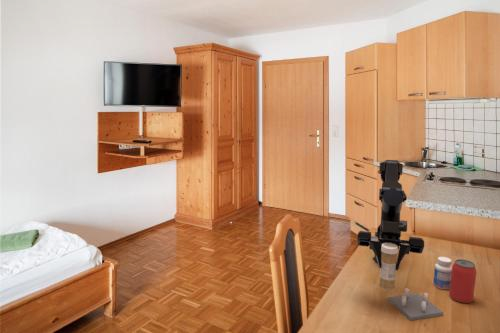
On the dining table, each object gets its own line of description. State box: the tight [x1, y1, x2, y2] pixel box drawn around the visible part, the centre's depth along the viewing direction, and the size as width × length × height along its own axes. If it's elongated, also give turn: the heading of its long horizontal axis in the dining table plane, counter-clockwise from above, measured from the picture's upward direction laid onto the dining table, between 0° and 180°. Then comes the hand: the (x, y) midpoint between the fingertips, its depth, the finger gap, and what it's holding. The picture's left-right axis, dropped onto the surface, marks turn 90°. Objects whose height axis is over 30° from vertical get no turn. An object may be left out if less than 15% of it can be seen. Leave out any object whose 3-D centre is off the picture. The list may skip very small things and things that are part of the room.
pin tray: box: [387, 287, 444, 321], centre depth 109 cm, size 11×11×4 cm
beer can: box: [448, 258, 477, 304], centre depth 113 cm, size 7×7×12 cm
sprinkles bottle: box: [378, 243, 399, 291], centre depth 107 cm, size 5×5×14 cm
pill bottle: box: [433, 256, 453, 290], centre depth 121 cm, size 6×5×10 cm
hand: (388, 268), depth 105 cm, fingers closed on sprinkles bottle, 4 cm apart
